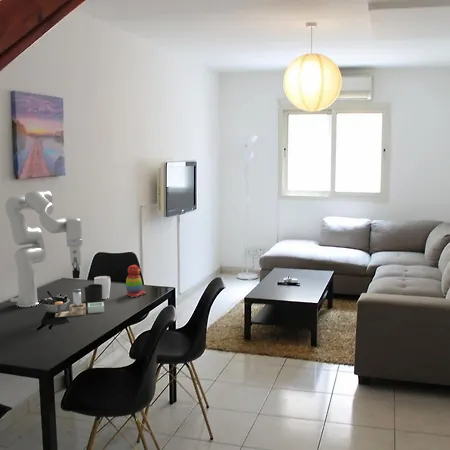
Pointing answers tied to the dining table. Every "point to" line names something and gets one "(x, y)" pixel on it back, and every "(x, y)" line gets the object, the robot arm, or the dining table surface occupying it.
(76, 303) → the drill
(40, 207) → the robot arm
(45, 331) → the dining table surface
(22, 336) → the dining table surface
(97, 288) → the pen holder
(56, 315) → the socket block
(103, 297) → the cup
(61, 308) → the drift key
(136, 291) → the stacking bear
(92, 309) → the mint green square tray
